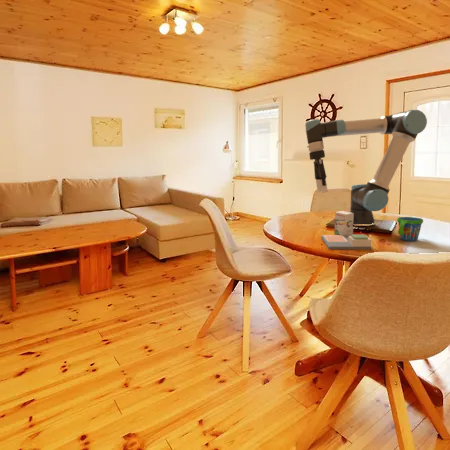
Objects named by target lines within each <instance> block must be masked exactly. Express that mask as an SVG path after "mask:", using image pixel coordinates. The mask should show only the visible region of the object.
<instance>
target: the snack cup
mask: <svg viewBox="0 0 450 450" xmlns="http://www.w3.org/2000/svg"><path fill="white" fill-rule="evenodd" d="M396 219H397V223H398V230H397V233H398V235H399V239H400V240H402V241H406V242H415V241H417V240H418V239H419V236H420V232H421V229H422V228H421V227H422V224H423V223H424V219H423V218H421V217H415V216H414V217H413V216H399V217H398V218H396Z"/></svg>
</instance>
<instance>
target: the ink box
mask: <svg viewBox="0 0 450 450" xmlns="http://www.w3.org/2000/svg"><path fill="white" fill-rule="evenodd" d="M353 218H354V213H351V212H350V211H346V210H340V211H335V213H334V234H333V235H354V226H353Z"/></svg>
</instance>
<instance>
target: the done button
mask: <svg viewBox="0 0 450 450" xmlns="http://www.w3.org/2000/svg"><path fill="white" fill-rule="evenodd" d="M352 238H353V239H368V238H369V237H368V236H367V235H366V234H353V235H352Z"/></svg>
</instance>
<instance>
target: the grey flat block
mask: <svg viewBox="0 0 450 450" xmlns="http://www.w3.org/2000/svg"><path fill="white" fill-rule="evenodd" d="M320 236H321V240H322V242H323V243H324V244H325V246H326V248H327V249H328V250H372V239H371V238H369V237H368V239H353V238H352V235H337V234H333V235H332V234H323V235H320Z"/></svg>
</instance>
